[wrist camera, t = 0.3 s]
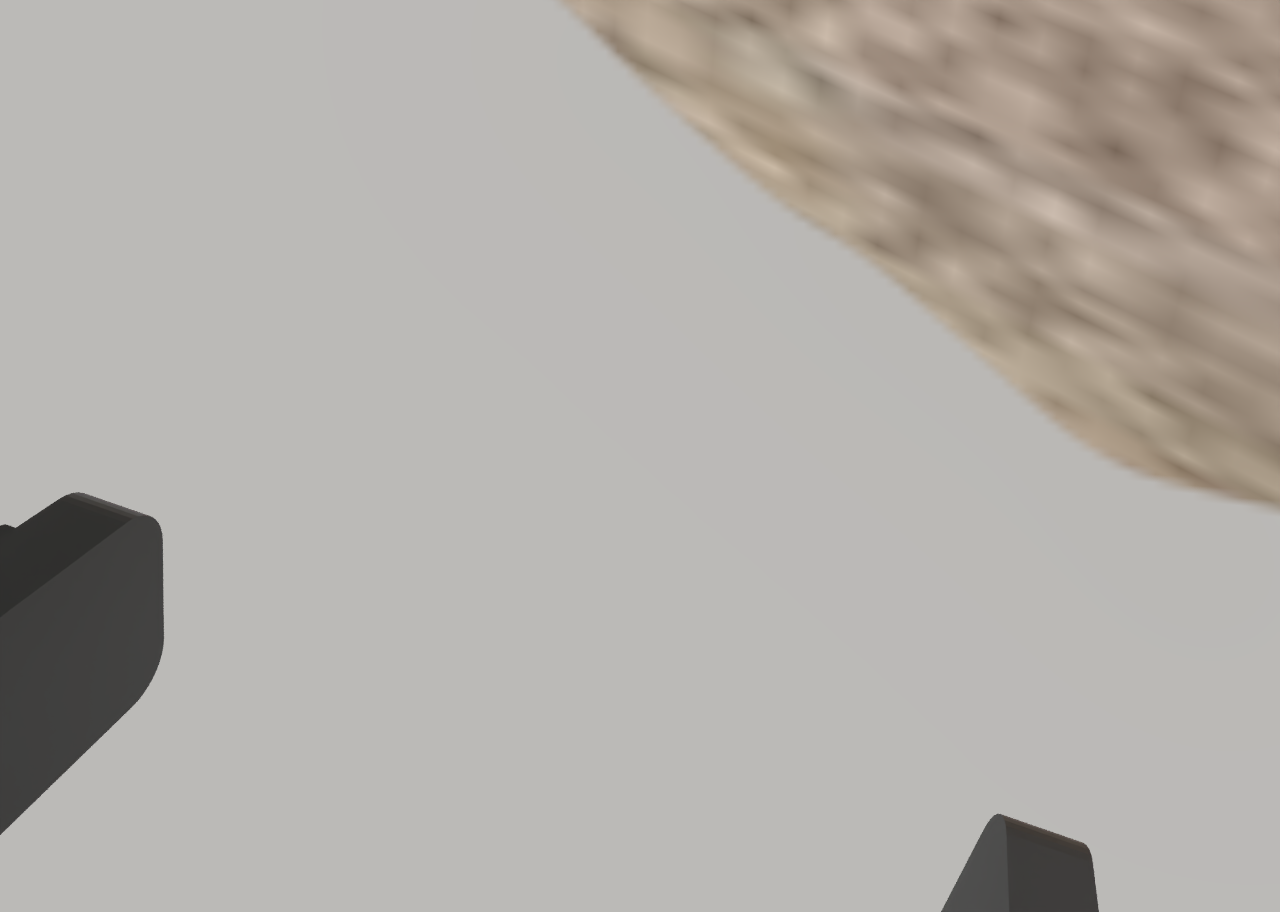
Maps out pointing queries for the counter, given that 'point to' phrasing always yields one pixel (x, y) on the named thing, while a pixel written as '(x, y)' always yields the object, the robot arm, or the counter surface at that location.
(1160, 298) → the counter surface
